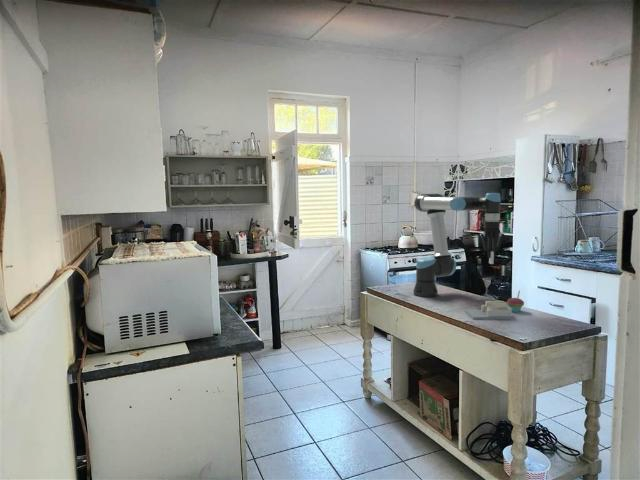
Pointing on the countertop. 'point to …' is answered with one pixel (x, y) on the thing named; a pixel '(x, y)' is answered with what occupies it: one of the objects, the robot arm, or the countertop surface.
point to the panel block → (495, 305)
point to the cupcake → (515, 303)
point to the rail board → (482, 314)
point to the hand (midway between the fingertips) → (491, 263)
